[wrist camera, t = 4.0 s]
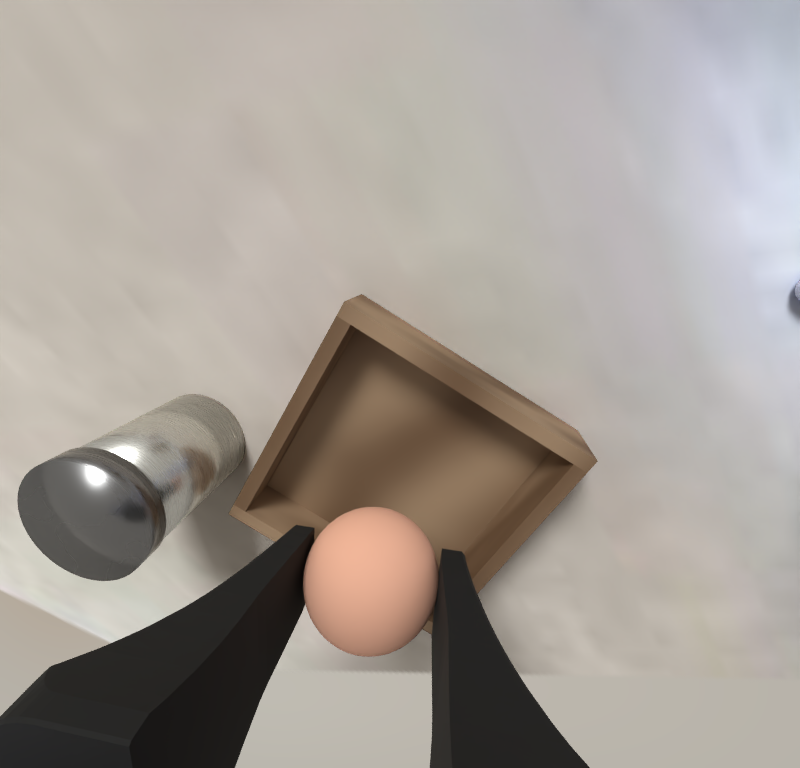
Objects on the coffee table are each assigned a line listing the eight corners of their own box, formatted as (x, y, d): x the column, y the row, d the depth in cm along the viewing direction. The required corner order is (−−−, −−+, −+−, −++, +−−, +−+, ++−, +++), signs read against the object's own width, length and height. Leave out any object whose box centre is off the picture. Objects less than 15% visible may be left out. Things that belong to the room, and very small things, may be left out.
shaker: (262, 426, 20) (165, 511, 14) (224, 496, 22) (122, 602, 15) (175, 373, 20) (35, 434, 13) (144, 448, 22) (5, 535, 15)
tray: (577, 430, 18) (597, 461, 15) (439, 590, 22) (436, 637, 19) (361, 294, 18) (344, 301, 15) (257, 481, 21) (228, 514, 18)
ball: (447, 491, 14) (446, 585, 10) (432, 589, 15) (426, 705, 11) (327, 473, 14) (281, 557, 10) (323, 570, 15) (280, 677, 11)
